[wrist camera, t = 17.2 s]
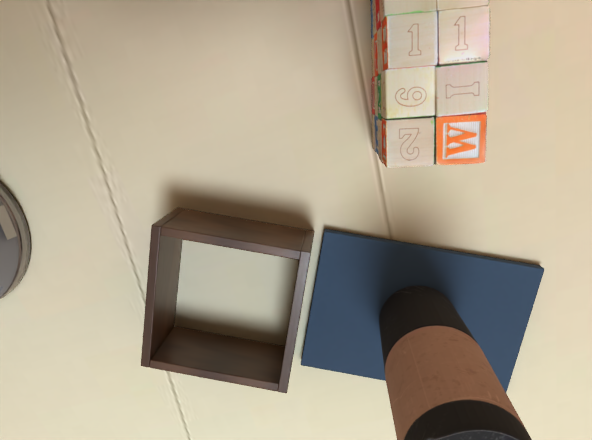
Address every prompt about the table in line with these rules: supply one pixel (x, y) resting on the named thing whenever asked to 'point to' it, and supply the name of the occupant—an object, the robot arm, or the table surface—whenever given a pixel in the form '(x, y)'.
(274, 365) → the cube shelf
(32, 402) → the table surface
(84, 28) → the table surface
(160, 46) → the table surface
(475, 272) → the mat
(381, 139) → the stack of blocks
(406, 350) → the travel mug
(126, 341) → the table surface
